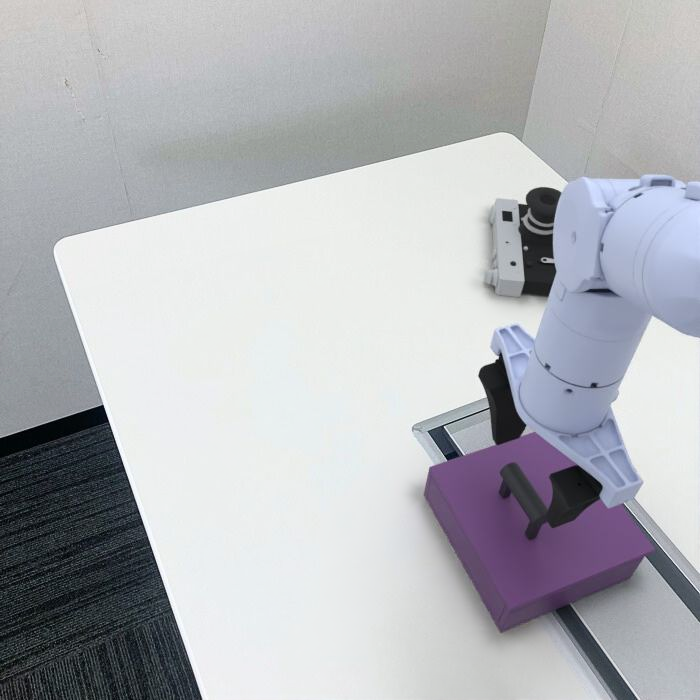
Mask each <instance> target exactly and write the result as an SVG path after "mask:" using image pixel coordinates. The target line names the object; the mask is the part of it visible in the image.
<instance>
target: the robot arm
mask: <svg viewBox="0 0 700 700" xmlns="http://www.w3.org/2000/svg"><path fill="white" fill-rule="evenodd" d="M561 192H562V194H561V196H560V199H559V202H558V205H557V209H556V214H555V220H554V228H553V254H554V262H555V267H556V271H557V272H556V275H555V278H554V282H553V285H552V288H551V291H550V294H549V295H548V297H547V300H546V304H545V306H544V310H543V313H542V316H541V319H540V322H539V326H538V328H537V332H536V335H535V337H533V336H532V335H531V334H529V332H527V331H526V329H524V328H523V326H521V324H520V323H519V322H515V323H511V324H508V325H504V326H501V327H497V328H494V330H493V334H492V338H491V341H490V346H489V348H490V350H491V352H493V354H494V355H495V356H497V357H498V358H496V359H495V360H494V362H491V363H488V364H485V365H483V366H481V368H480V369H479V371H478V375H477V377H478V379H479V380H480V383H481V385H482V387H483V390H484V392H485V396H486V399H487V403H488V407H489V415H490V427H491V436H492V437H491V438H492V441H493V442H494V445H500V444H503V443H506V442H509V441H512V440H515V439H518V438H520V437H521V436H523V434H524V431H525V430H526V428H527V427H528V428H529V429H531V430H532V431H533V432H536V433H537V434H538V435H540V436H541V437H542V438H543V439H545V440H546V441H547V442H549V443H550V444H551V445H553V446H554V447H555V448H557V449H558V450H559V451H560V452H562V453H563V454H564V455H566V456H567V457H568V458H570V459H571V460H572V461H574V462H575V463H576V464H577V465H574V466H571V467H569V468H566V469H563V470H560V471H557V472H555V473H552V474H550V476H549V479H550V481H551V483H552V489H553V495H552V501H551V504H550V506H549V509H548V512H547V516H546V520H547V522H548V524H549V525H550V527H551V528H555V527H558V526H561V525H563V524H566V523H569V522H571V521H574V520H575V519H576V518H577V517H578V516H579V515H580V514H581V513H582V512H583V511H584V510H585V509H586V508H588V507H589V506H590V505H592V504H593V503H595V502H596V501H598V500H600V499H601V500H602V501H603V502H604V504H605V505H606V507H607V508H611V507H614V506H617V505H620V504H622V505H623V504H625V503H628V502H630V501H632V500H634V499H635V498H636V496H637V495H638V493H639V491H640V489H641V488H642V486H643V484H644V480H643V479H642V477H641V476H640V475H639V473H638V471H637V470H636V468H635V467H634V465H633V462H632V460H631V458H630V455H629V453H628V450H627V447H626V444H625V442H624V439H623V437H622V434H621V430H620V428H619V425H618V422H617V419H616V416H615V414H614V412H613V408H612V404H613V403H614V402H616V401H617V400H618V397H619V395H620V391H619V389H620V387H621V384H622V382H623V381H624V378H625V375H626V373H627V371H628V369H629V367H630V365H631V362H632V361H633V359H634V356H635V355H636V352H637V350H638V348H639V346H640V343H641V341H642V339H643V337H644V335H645V332H646V331H647V328H648V326H649V324H650V322H651V320H652V318H653V317H654V318H655V319H657V320H659V321H660V322H662V323H664V324H666V325H667V326H669V327H670V328H672V329H673V330H675V331H678V332H679V333H681V334H683V335H686V336H690V337H693V338H699V339H700V181H696V180H695V181H694V180H693V181H689V182H687V184H686V183H685V182H684V181H681V180H679V179H675V177H674V176H673V175H668V174H653V173H652V174H649V173H648V174H646V173H645V174H643V175H642V176H641V177H640V178H594V177H593V178H589V177H587V176H580V177H579V178H578V179H571V180H570V181H569V182H568V183H566V185H565V186H564V188H563V189H562V191H561Z"/></svg>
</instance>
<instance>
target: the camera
mask: <svg viewBox="0 0 700 700" xmlns="http://www.w3.org/2000/svg"><path fill="white" fill-rule="evenodd" d="M561 194H562V191H560V190H558V189H557V188H553V187H548V186H539V187H534V188H533V189H530V190H529V191H528V192H527V193H526V195H525V203H519V200H518V199H511V198H501V197H496V198H495V201H494V204H493V205H491V207H490V215H489V217H490V218H489V221H490V224H491V225H492V245H493V247H492V248H493V250H492V255H491V258H492V259H491V260H493V262H492V267H491V268H490V269H486V270H485V274H484V278H483V283H485V284H487V285H492V286H493V287H494V289H495V290H494V293H495V295H497V296H503V297H515V298H520V297H521V295H522V294H532V295H542V296H549V294H550V291H551V288H552V285H553V282H554V278H555V275H556V272H557V271H556V267H555V262H554V254H553V228H554V220H555V214H556V209H557V205H558V202H559V199H560V196H561Z"/></svg>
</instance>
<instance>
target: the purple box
mask: <svg viewBox="0 0 700 700" xmlns="http://www.w3.org/2000/svg"><path fill="white" fill-rule="evenodd" d="M423 496H424V499H425V500H426V502H427V504H428V505H429V507H430V510H431V511H432V512H433V514H434V516H435V519H436V520H437V522H438V523H439V525H440V527H441V529H442V531H443V532H444V535H445V536H446V537H447V540H448V542H449V543H450V545H451V547H452V549H453V550H454V552H455V554H456V555H457V557H458V559H459V561H460V563H461V565H462V566H463V568H464V570H465V572H466V574H467V575H468V577H469V579H470V581H471V582H472V584H473V586H474V588H475V590H476V591H477V593H478V595H479V597H480V599H481V600H482V602H483V604H484V606H485V607H486V609H487V611H488V613H489V615H490V617H491V618H492V620H493V623H494V624H495V625H496V627H497V629H498V631H499V633H504V632H506V631H509V630H511V629H513V628H516V627H518V626H521V625H523V624H525V623H528V622H530V621H532V620H534V619H535V620H536V619H537V618H540V617H542V616H544V615H547V614H549V613H552V612H554V611H557V610H558V609H561V608H563V607H566V606H569V605H571V604H573V603H576V602H578V601H580V600H582V599H585V598H587V597H590V596H593V595H594V594H596V593H599V592H601V591H604V590H606V589H609V588H611V587H613V586H616V585H619V584H621V583H623V582H625V581H627V580H630V579H631V578H632V576H633V575H634V573H635V572H636V570H637V569H638V568H639V566H640V565H641V564H642V562H643V560H644V559H645V557H643V558H640V559H638V560H635V561H633V562H630V563H628V564H626V565H623V566H621V567H618V568H616V569H613V570H611V571H609V572H606V573H604V574H601V575H599V576H596V577H594V578H592V579H589V580H587V581H584V582H582V583H579V584H577V585H575V586H572V587H570V588H567V589H565V590H563V591H560V592H558V593H555V594H553V595H550V596H548V597H546V598H543V599H541V600H538V601H536V602H533V603H531V604H529V605H526V606H524V607H521V608H519V609H516V610H514V611H512V612H510V611H509V610H508V608H507V606H506V604H505V603H504V601H503V599H502V597H501V596H500V594H499V592H498V590H497V589H496V587H495V585H494V584H493V582H492V580H491V578H490V577H489V575H488V573H487V571H486V570H485V568H484V566H483V564H482V563H481V561H480V559H479V557H478V556H477V554H476V552H475V551H474V549H473V547H472V545H471V544H470V542H469V540H468V538H467V537H466V535H465V533H464V531H463V530H462V528H461V526H460V524H459V523H458V521H457V519H456V518H455V516H454V514H453V512H452V511H451V509H450V507H449V505H448V504H447V502H446V500H445V498H444V497H443V495H442V493H441V491H440V490H439V488H438V486H437V485H436V483H435V481H434V479H433V478H432V476H431V474H430V472H429V471H428V472H427V477H426V481H425V487H424V491H423Z"/></svg>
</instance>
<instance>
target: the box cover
mask: <svg viewBox="0 0 700 700" xmlns="http://www.w3.org/2000/svg"><path fill="white" fill-rule="evenodd" d="M574 465H577V464H576V463H575V462H574V461H572V460H571V459H570V458H568V457H567V456H566V455H564V454H563V453H562V452H560V451H559V450H558V449H557V448H555V447H554V446H553V445H551V444H550V443H549V442H547V441H546V440H545V439H543V438H542V437H541V436H540V435H538V434H537V433H536V432H534V431H533V432H530V433H527V434H524V435H521V436H520V438H518V439H515V440H512V441H509V442H506V443H503V444H500V445H496V444H493V445H491V446H488V447H485V448H482V449H479V450H475V451H473V452H470V453H467V454H464V455H461V456H458V457H455V458H452V459H449V460H446V461H442V462H440V463H436V464H434V465H431V466H429V468H428V472H430V474H431V476H432V478H433V479H434V481H435V483H436V485H437V486H438V488H439V490H440V491H441V493H442V495H443V497H444V498H445V500H446V502H447V504H448V505H449V507H450V509H451V511H452V512H453V514H454V516H455V518H456V519H457V521H458V523H459V524H460V526H461V528H462V530H463V531H464V533H465V535H466V537H467V538H468V540H469V542H470V544H471V545H472V547H473V549H474V551H475V552H476V554H477V556H478V557H479V559H480V561H481V563H482V564H483V566H484V568H485V570H486V571H487V573H488V575H489V577H490V578H491V580H492V582H493V584H494V585H495V587H496V589H497V590H498V592H499V594H500V596H501V597H502V599H503V601H504V603H505V604H506V606H507V608H508V610H509V611H510V612H512V611H514V610H516V609H519V608H521V607H524V606H526V605H529V604H531V603H533V602H536V601H538V600H541V599H543V598H546V597H548V596H550V595H553V594H555V593H558V592H560V591H563V590H565V589H567V588H570V587H572V586H575V585H577V584H579V583H582V582H584V581H587V580H589V579H592V578H594V577H596V576H599V575H601V574H604V573H606V572H609V571H611V570H613V569H616V568H618V567H621V566H623V565H626V564H628V563H630V562H633V561H635V560H638V559H640V558H643V557H644V558H645V557H647V556H650V555H652V554H654V553H655V551H656V548H655V547H654V545H653V544H652V543H651V541H650V540H649V538H647V536H646V534H645V533H644V532H643V531H642V529H641V528H640V527H639V525H638V524H637V523H636V521H635V520H634V519H633V518H632V516H631V514H629V512H628V511H627V509H626V508H625V507H624V506H623V503H622V504H620V505H617V506H614V507H611V508H607V507H606V505H605V504H604V502H603V501H602V500H601V499H600V500H598V501H596V502H595V503H593V504H592V505H590V506H589V507H588V508H586V509H585V510H584V511H583V512H582V513H581V514H580V515H579V516H578V517H577V518H576V519H575V520H574V521H571V522H569V523H566V524H563V525H561V526H558V527H555V528H551V527H550V525H549V524H548V522H547V520H546V516H547V512H548V509H549V506H550V504H551V501H552V495H553V489H552V483H551V481H550V479H549V476H550V474H552V473H555V472H557V471H560V470H563V469H566V468H569V467H571V466H574ZM644 558H643V559H644Z"/></svg>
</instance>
